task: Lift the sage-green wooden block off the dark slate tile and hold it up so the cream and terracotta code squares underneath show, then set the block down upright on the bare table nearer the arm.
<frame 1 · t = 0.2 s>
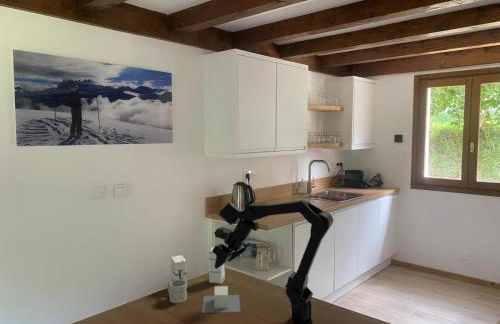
hand: (222, 264, 139), 15 cm above the table, tool tilted 30°, fingers open, 9 cm apart
syrup box: (217, 281, 161), on the table
ink box: (179, 286, 155), on the table
code tile: (221, 303, 139), on the table
sage block: (221, 303, 139), resting on code tile
mug: (175, 298, 144), on the table
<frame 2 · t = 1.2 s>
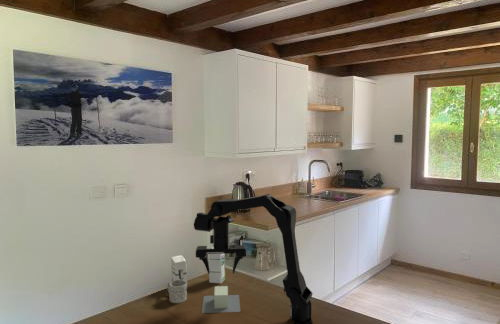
hand: (221, 273, 138), 12 cm above the table, tool pointing down, fingers open, 9 cm apart
nothing on the table moved.
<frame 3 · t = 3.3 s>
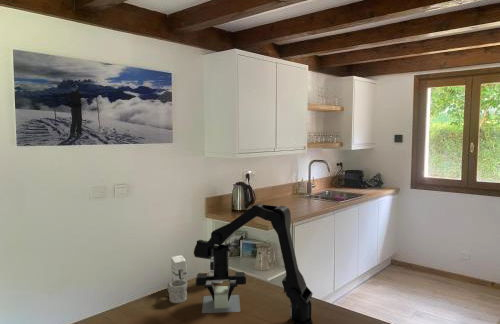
hand: (221, 300, 139), 1 cm above the table, tool pointing down, fingers closed on sage block, 5 cm apart
sage block: (221, 303, 139), resting on code tile, touching gripper
everything else where it was.
when the fingers open (2 cm above the table, at t = 9.8 s): sage block drops 1 cm, on the table.
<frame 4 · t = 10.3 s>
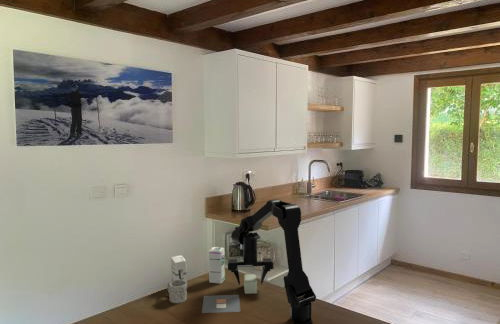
hand: (250, 284, 151), 2 cm above the table, tool pointing down, fingers open, 9 cm apart
sage block: (250, 289, 152), on the table
everything else where it was.
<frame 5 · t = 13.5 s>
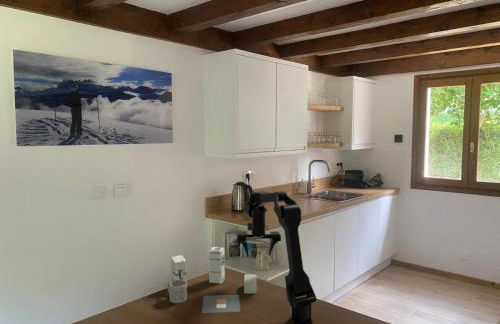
hand: (258, 256, 157), 12 cm above the table, tool pointing down, fingers open, 9 cm apart
nothing on the table moved.
at the end: sage block inside the target area (0.0 cm from its centre), on the table; sage block tilted 0°; the gripper is holding nothing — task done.
